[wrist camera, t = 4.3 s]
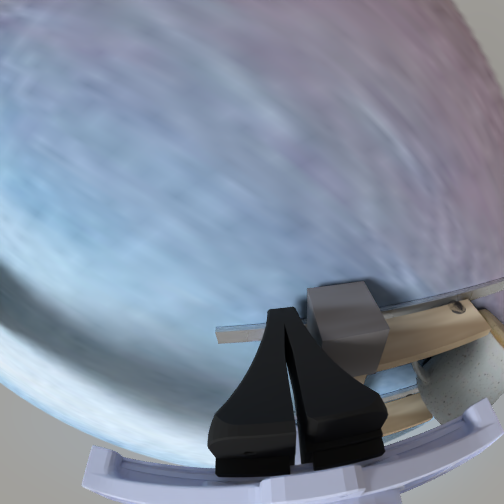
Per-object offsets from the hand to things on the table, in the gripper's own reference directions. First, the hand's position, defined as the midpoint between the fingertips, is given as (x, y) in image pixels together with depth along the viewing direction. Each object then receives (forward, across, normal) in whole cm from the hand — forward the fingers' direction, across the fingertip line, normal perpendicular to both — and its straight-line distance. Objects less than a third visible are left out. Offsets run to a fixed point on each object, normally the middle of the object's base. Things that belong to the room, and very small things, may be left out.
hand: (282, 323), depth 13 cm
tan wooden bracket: (+1, -7, +6) cm, 10 cm away
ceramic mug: (+2, -14, +7) cm, 16 cm away
